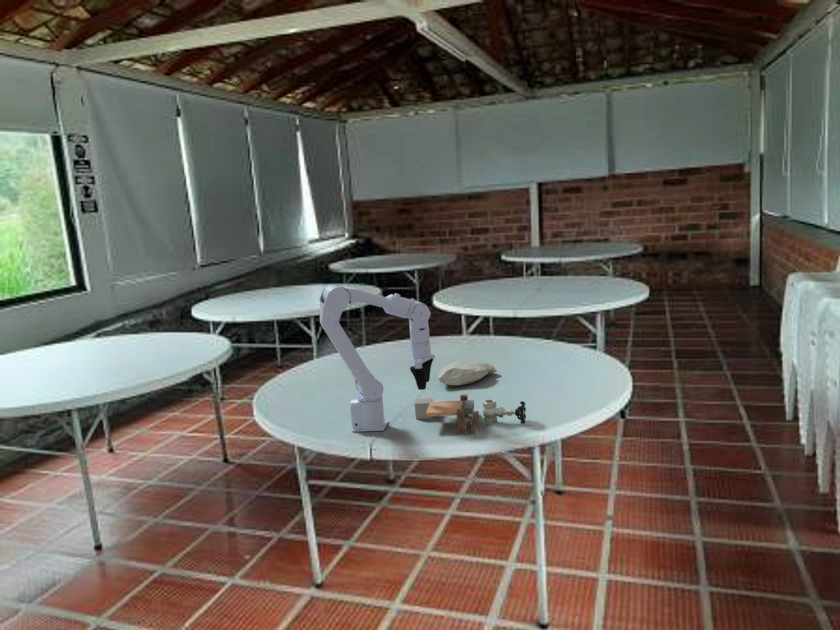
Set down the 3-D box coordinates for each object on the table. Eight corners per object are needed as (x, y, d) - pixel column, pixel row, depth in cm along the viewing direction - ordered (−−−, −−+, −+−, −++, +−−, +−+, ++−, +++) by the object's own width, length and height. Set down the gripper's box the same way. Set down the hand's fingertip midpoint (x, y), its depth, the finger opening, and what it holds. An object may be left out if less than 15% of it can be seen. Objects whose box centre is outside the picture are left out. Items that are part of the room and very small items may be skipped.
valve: (481, 426, 188) (523, 427, 184) (480, 404, 186) (522, 405, 183) (485, 419, 194) (526, 419, 190) (484, 397, 193) (525, 397, 189)
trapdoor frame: (458, 433, 183) (456, 411, 182) (462, 415, 198) (460, 394, 197) (476, 433, 183) (474, 410, 181) (478, 414, 197) (477, 394, 196)
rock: (500, 359, 239) (465, 367, 219) (501, 378, 239) (466, 389, 219) (456, 357, 250) (418, 365, 230) (456, 376, 251) (419, 385, 230)
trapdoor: (426, 418, 187) (425, 411, 186) (430, 406, 196) (430, 400, 196) (472, 416, 185) (471, 409, 184) (474, 404, 194) (473, 398, 194)
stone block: (416, 419, 198) (414, 403, 197) (418, 414, 203) (416, 398, 202) (431, 419, 198) (430, 403, 197) (433, 413, 202) (432, 398, 201)
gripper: (430, 346, 188) (433, 392, 190) (436, 335, 202) (439, 378, 204) (406, 347, 189) (410, 393, 191) (413, 336, 203) (417, 378, 206)
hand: (423, 385), depth 198 cm, fingers open, 7 cm apart
